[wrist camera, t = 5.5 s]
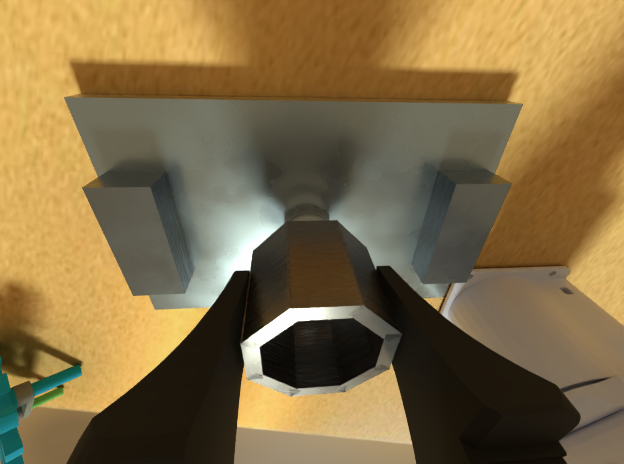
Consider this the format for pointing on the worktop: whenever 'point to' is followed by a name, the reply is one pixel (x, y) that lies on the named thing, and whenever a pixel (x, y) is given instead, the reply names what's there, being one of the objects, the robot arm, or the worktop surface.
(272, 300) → the collar
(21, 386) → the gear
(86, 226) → the worktop surface
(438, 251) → the shaft mount
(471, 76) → the worktop surface
